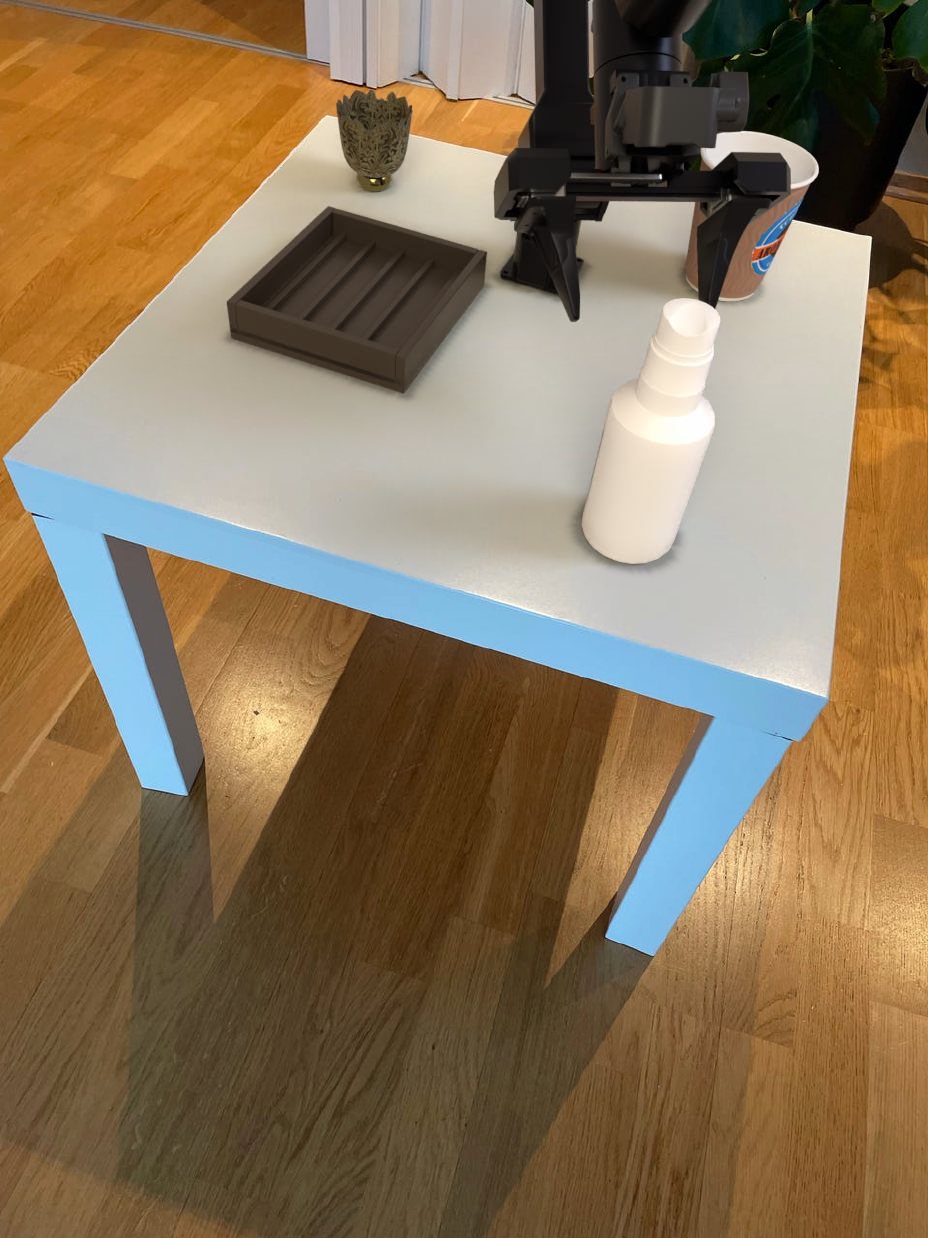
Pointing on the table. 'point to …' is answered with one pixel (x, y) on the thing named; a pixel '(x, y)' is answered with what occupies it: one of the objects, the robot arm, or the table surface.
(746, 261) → the coffee cup
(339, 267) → the ribbed square tray
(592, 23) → the robot arm
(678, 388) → the spray bottle
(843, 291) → the table surface
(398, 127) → the cup
